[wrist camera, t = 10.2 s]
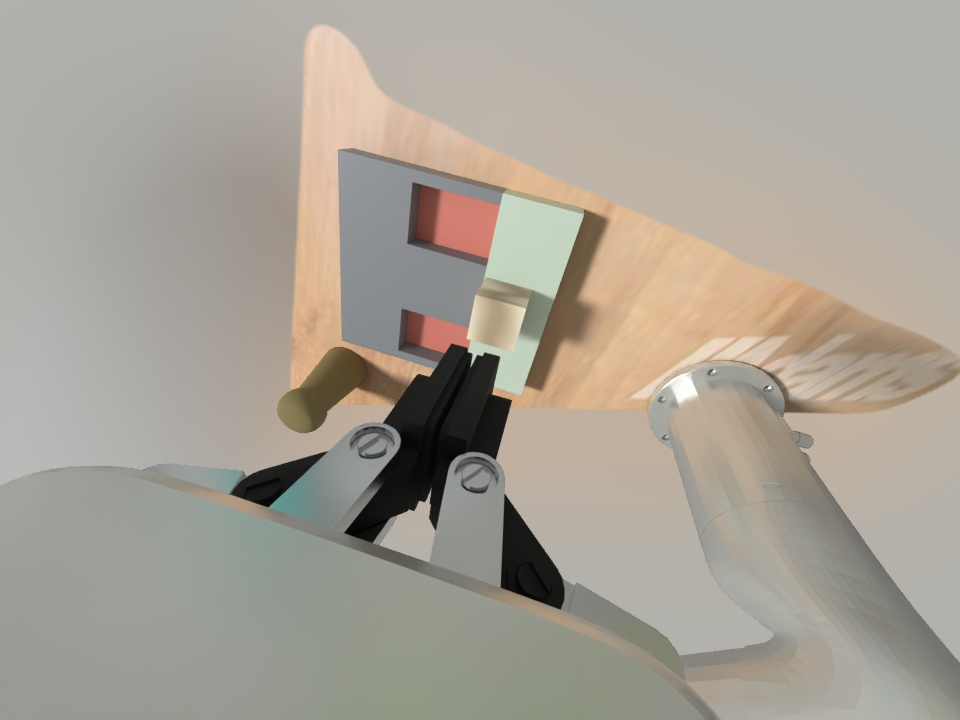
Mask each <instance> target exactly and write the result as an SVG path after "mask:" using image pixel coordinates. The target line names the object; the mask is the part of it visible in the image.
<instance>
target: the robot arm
mask: <svg viewBox="0 0 960 720" xmlns="http://www.w3.org/2000/svg"><path fill="white" fill-rule="evenodd" d="M472 357H473V353H469V352H468V348H467V347H464V346H460V345H456V344H451V345H450V346H449V348H448V349H447V351H446V353H445V354H444V356H443V357H442V359H441V360H440V362H439V363H438V365H437V367H436V368H435V370H434V371H433V373H432V374H431V376H430V377H428V376H424V375H421V374H418V375H417V376H416V377H415V378H414V380H413V381H412V382H411V384H410V385H409V387H408V388H407V390H406V391H405V392H404V394H403V395H402V397H401V398H400V400H399V401H398V402H397V404H396V405H395V407H394V408H393V409H392V411H391V412H390V414H389V415H388V417H387V418H386V419H385V421H384V422H383V423H375V422H372V423H365V424H362V425H360V426H357V427H355V428H354V429H353V430H351V431H350V432H349V433H348V434H347V435H346V436H344V437H343V438H342V439H341V440H340V441H339V442H338V443H337V444H336V445H335V446H334V447H333V448H332V449H331V450H329V451H327V452H323V453H319V454H316V455H313V456H309V457H305V458H302V459H298V460H295V461H291V462H288V463H284V464H281V465H277V466H274V467H270V468H267V469H264V470H260V471H258V472H256V473H253V474H251V475H249V476H247V475H245V473H244V471H238V470H228V469H218V468H208V467H196V466H187V465H177V464H159V465H155V466H152V467H148V468H146V469H144V470H139V469H134V468H125V467H112V466H81V467H66V468H57V469H50V470H44V471H40V472H36V473H32V474H29V475H25V476H22V477H20V478H17V479H15V480H12V481H10V482H7V483H5V484H3V485H1V486H0V720H960V662H959V661H958V660H957V659H956V658H955V657H954V656H953V654H952V653H951V652H950V651H949V650H948V648H947V647H946V646H945V645H944V644H943V642H942V641H940V639H939V638H938V637H937V635H936V634H935V633H934V632H933V631H932V629H931V628H930V627H929V626H928V625H927V623H926V622H925V621H924V620H923V619H922V617H921V616H920V615H919V614H918V613H917V611H916V610H915V609H914V608H913V606H912V605H911V604H910V602H909V601H908V600H907V598H906V597H905V596H904V594H903V593H902V592H901V591H900V589H899V588H898V587H897V585H896V584H895V583H894V581H893V580H892V579H891V577H890V576H889V575H888V573H887V572H886V571H885V569H884V568H883V566H882V565H881V564H880V562H879V561H878V560H877V559H876V557H875V556H874V554H873V553H872V551H871V550H870V549H869V547H868V546H867V544H866V543H865V541H864V540H863V539H862V537H861V536H860V534H859V533H858V532H857V530H856V529H855V527H854V526H853V525H852V523H851V522H850V520H849V519H848V517H847V516H846V515H845V513H844V512H843V510H842V509H841V507H840V506H839V505H838V503H837V502H836V500H835V499H834V497H833V496H832V494H831V493H830V492H829V490H828V489H827V487H826V486H825V484H824V483H823V482H822V480H821V479H820V477H819V476H818V475H817V473H816V472H815V470H814V469H813V467H812V466H811V464H810V458H809V456H808V455H807V454H806V453H803V452H802V451H801V450H800V449H799V447H803V448H810V447H811V446H812V444H813V438H812V437H811V436H810V435H807V434H803V433H800V432H796V431H792V430H791V429H790V427H789V426H788V424H787V423H786V422H785V420H784V419H783V415H784V411H785V401H784V396H783V393H782V392H781V390H780V388H779V386H778V385H777V384H776V383H775V381H774V380H773V379H772V378H771V377H770V376H769V375H767V374H766V373H765V372H764V371H762V370H760V369H758V368H756V367H754V366H752V365H748V364H745V363H741V362H735V361H709V362H703V363H698V364H695V365H692V366H689V367H686V368H684V369H682V370H680V371H678V372H675V373H674V374H672V375H671V376H670V377H668V378H667V379H665V380H664V381H663V382H662V383H661V384H660V385H659V386H658V387H657V388H656V390H655V391H654V393H653V394H652V396H651V399H650V401H649V404H648V411H647V412H648V420H649V423H650V426H651V429H652V431H653V433H654V434H655V436H656V437H657V438H658V439H659V440H660V441H661V442H662V443H663V444H665V445H666V446H668V447H669V448H671V449H673V452H674V456H675V459H676V462H677V466H678V469H679V472H680V476H681V479H682V483H683V486H684V489H685V493H686V496H687V499H688V502H689V506H690V509H691V513H692V516H693V519H694V523H695V526H696V530H697V533H698V536H699V540H700V543H701V546H702V549H703V552H704V555H705V559H706V562H707V564H708V567H709V569H710V572H711V574H712V575H713V577H714V579H715V581H716V582H717V584H718V585H719V586H720V588H721V589H722V590H723V591H724V593H725V594H726V595H728V597H729V598H730V599H731V600H732V601H733V602H734V603H735V604H736V605H738V606H739V607H740V608H741V609H742V610H744V611H745V612H746V613H748V614H749V615H750V616H752V617H753V618H754V619H755V620H757V621H758V622H760V623H761V624H762V625H764V626H765V627H767V628H768V629H769V630H771V631H772V632H773V633H774V636H773V638H771V640H769V641H767V642H765V643H760V644H754V645H749V646H745V647H744V648H738V649H729V650H721V651H713V652H705V653H697V654H689V655H681V656H679V655H678V652H677V650H676V649H675V648H674V646H673V645H672V644H671V642H670V641H669V640H668V638H666V637H665V636H664V635H663V634H661V633H660V632H659V631H658V630H656V629H655V628H653V627H651V626H650V625H648V624H646V623H645V622H643V621H641V620H640V619H638V618H636V617H635V616H633V615H631V614H630V613H628V612H626V611H624V610H623V609H621V608H619V607H618V606H616V605H614V604H613V603H611V602H609V601H608V600H606V599H604V598H603V597H601V596H599V595H597V594H596V593H594V592H592V591H591V590H589V589H587V588H586V587H584V586H582V585H581V584H579V583H576V585H575V586H574V585H572V584H571V583H569V582H567V581H565V580H564V579H562V577H561V575H560V573H559V571H558V569H557V568H556V566H555V565H554V563H553V562H552V560H551V559H550V557H549V556H548V555H547V553H546V552H545V550H544V549H543V548H542V546H541V545H540V544H539V542H538V541H537V539H536V538H535V536H534V535H533V534H532V532H531V531H530V529H529V528H528V526H527V525H526V523H525V522H524V520H523V519H522V518H521V516H520V515H519V513H518V512H517V511H516V509H515V508H514V506H513V505H512V504H511V502H510V501H509V499H508V498H507V496H506V495H505V493H504V491H505V476H504V471H503V469H502V467H501V465H500V464H499V463H498V462H497V461H496V457H497V454H498V450H499V446H500V443H501V439H502V435H503V432H504V428H505V424H506V420H507V417H508V413H509V409H510V406H511V402H512V400H510V399H506V398H502V397H499V396H495V395H492V392H493V388H494V384H495V379H496V375H497V371H498V366H499V362H500V356H497V355H493V354H490V353H486V352H484V354H483V356H481V355H477V356H476V358H475V360H474V362H473V364H472V366H471V363H472ZM798 446H799V447H798ZM431 488H432V490H431ZM430 490H431V498H430V504H431V508H430V516H429V519H430V521H431V523H432V525H433V527H434V529H435V531H436V533H435V538H434V543H433V548H432V552H431V557H430V562H429V563H428V562H425V561H422V560H419V559H417V558H414V557H411V556H407V555H405V554H402V553H399V552H396V551H393V550H391V549H388V548H385V547H382V546H379V545H380V543H381V542H382V540H383V539H384V537H385V536H386V534H387V533H388V532H389V530H390V529H391V527H392V526H393V524H394V522H395V520H396V517H397V515H399V514H402V513H404V512H407V511H408V509H410V510H413V511H414V510H415V509H416V507H417V504H418V502H419V501H422V502H425V501H426V499H427V497H428V495H429V493H430Z"/></svg>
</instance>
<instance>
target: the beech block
mask: <svg viewBox="0 0 960 720" xmlns="http://www.w3.org/2000/svg"><path fill="white" fill-rule="evenodd" d="M531 291H532V289H528V288H524V287H521V286H517V285H513V284H510V283H506V282H502V281H499V280H495V279H491V278H488V277H486V279H485V280H484V282H483V283H482V285H481V287H480V288H479V290H478V291H477V293H476V295H475V300H474V305H473V310H472V315H471V320H470V325H469V330H468V335H467V339H469V340H473V341H476V342H480V343H483V344H486V345H490V346H493V347H497V348H500V349H504V350H507V351H511V352H514V349H515V345H516V342H517V339H518V335H519V332H520V329H521V325H522V322H523V318H524V315H525V312H526V308H527V305H528V301H529V298H530V294H531Z"/></svg>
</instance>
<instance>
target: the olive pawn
mask: <svg viewBox="0 0 960 720" xmlns="http://www.w3.org/2000/svg"><path fill="white" fill-rule="evenodd" d="M366 376H367V369H366V366H365V363H364V362H363V361H362V359H361V358H360V357H359V356H358V355H357V354H356V353H355V352H353V351H351V350H349V349H346V348H343V347H335V348H332V349H330V350H329V351H328V352H327V353H326V355H325V356H324V357H323V358H322V360H321V361H320V362H319V363H318V365H317V366H316V367H315V368H314V370H313V371H312V372H311V374H310V375H309V376H308V377H307V379H306V380H305V381H304V382H303V384H302V385H301V386H300V387H299V388H297V389H294V390H291V391H289V392H288V393H286V394H285V395H284V396H283V397H282V398H281V399H280V401H279V403H278V408H277V412H278V416H279V418H280V420H281V421H282V422H283V423H284V424H285V425H286V426H287V427H288V428H290V429H292V430H294V431H296V432H299V433H308V432H312V431H315V430H316V429H317V428H319V427H320V426H321V425H322V424H323V423H324V421H325V418H326V416H327V411H328V410H330V409H331V408H332V407H333V406H334V405H336V404H337V403H338V402H339V401H340V400H342V399H343V398H344V397H345V396H346V395H348V394H349V393H350V392H351V391H352V390H354V389H355V388H356V387H357V386H358V385H360V384H361V383H362V382H363V381H364V380H365V379H366Z"/></svg>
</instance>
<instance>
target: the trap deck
mask: <svg viewBox="0 0 960 720" xmlns="http://www.w3.org/2000/svg"><path fill="white" fill-rule="evenodd" d="M338 172H339V220H340V267H341V315H342V341H346V342H349V343H352V344H355V345H359V346H362V347H365V348H368V349H372V350H375V351H378V352H381V353H385V354H388V355H391V356H395V357H398V358H401V359H404V360H408V361H411V362H414V363H417V364H421V365H424V366H427V367H430V368H434V369H435V368H436V367H437V365H438V363H439V362H440V360H441V359H442V357H443V356H444V354H445V353H446V351H447V349H448V348H449V346H450V345H451V344H456V345H460V346H464V347H467V348H468V352H469V353H473V357H472V363H471V366H472V364H473V362H474V360H475V358H476V356H477V355H481V356H483V354H484V352H486V353H490V354H493V355H497V356H500V362H499V366H498V371H497V375H496V379H495V384H494V387H496V388H499V389H502V390H505V391H509V392H512V393H515V394H518V395H521V394H522V391H523V388H524V385H525V382H526V379H527V376H528V374H529V371H530V368H531V365H532V362H533V359H534V356H535V354H536V351H537V348H538V345H539V342H540V339H541V336H542V334H543V331H544V328H545V325H546V322H547V319H548V316H549V314H550V311H551V308H552V305H553V302H554V299H555V296H556V294H557V291H558V288H559V285H560V282H561V279H562V276H563V274H564V271H565V268H566V265H567V262H568V259H569V256H570V254H571V251H572V248H573V245H574V242H575V239H576V236H577V234H578V231H579V228H580V225H581V222H582V219H583V216H584V209H582V208H578V207H574V206H570V205H566V204H563V203H559V202H555V201H551V200H547V199H544V198H540V197H536V196H532V195H528V194H524V193H521V192H517V191H513V190H509V189H505V188H502V187H498V186H494V185H490V184H486V183H483V182H479V181H475V180H471V179H467V178H464V177H460V176H456V175H452V174H448V173H445V172H441V171H437V170H433V169H429V168H426V167H422V166H418V165H414V164H410V163H406V162H403V161H399V160H395V159H391V158H387V157H384V156H380V155H376V154H372V153H368V152H365V151H361V150H357V149H353V148H351V149H339V150H338ZM486 277H488V278H491V279H495V280H499V281H502V282H506V283H510V284H513V285H517V286H521V287H524V288H528V289H532V291H531V294H530V298H529V301H528V305H527V308H526V312H525V315H524V318H523V322H522V325H521V329H520V332H519V335H518V339H517V342H516V345H515V349H514V352H511V351H507V350H504V349H500V348H497V347H493V346H490V345H486V344H483V343H480V342H476V341H473V340H469V339H467V335H468V330H469V325H470V320H471V315H472V310H473V305H474V300H475V295H476V293H477V291H478V290H479V288H480V287H481V285H482V283H483V282H484V280H485V279H486Z"/></svg>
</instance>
